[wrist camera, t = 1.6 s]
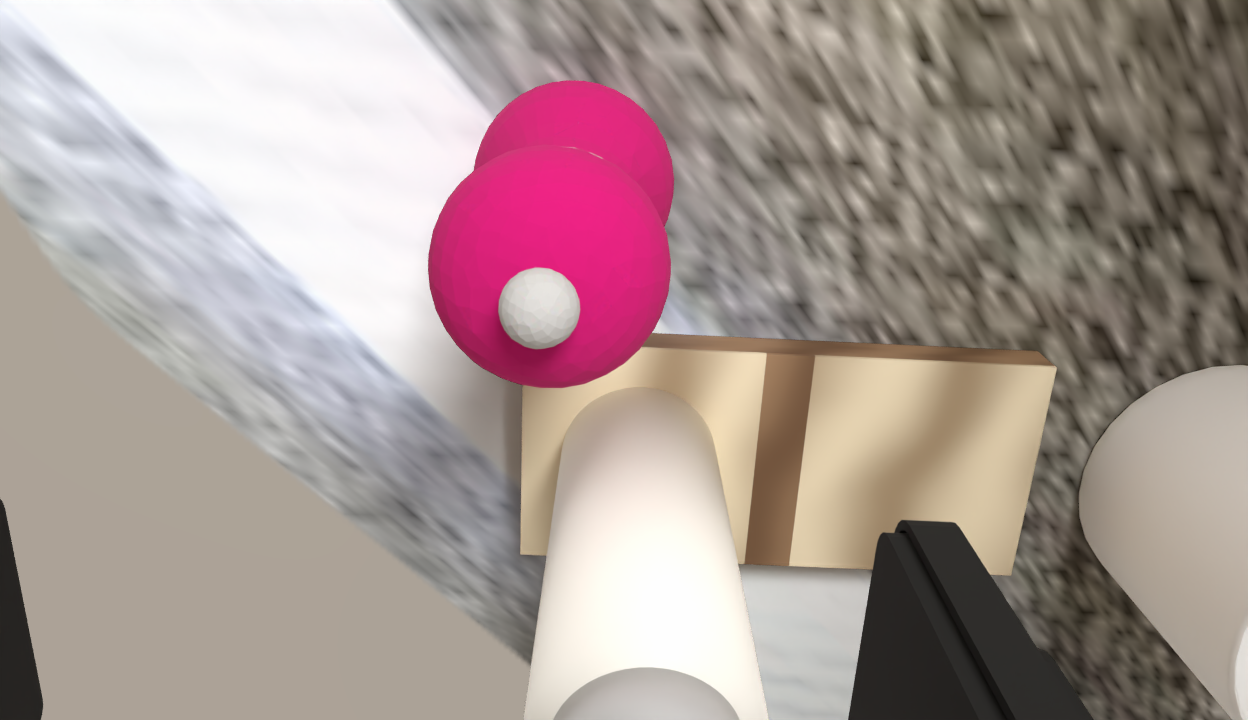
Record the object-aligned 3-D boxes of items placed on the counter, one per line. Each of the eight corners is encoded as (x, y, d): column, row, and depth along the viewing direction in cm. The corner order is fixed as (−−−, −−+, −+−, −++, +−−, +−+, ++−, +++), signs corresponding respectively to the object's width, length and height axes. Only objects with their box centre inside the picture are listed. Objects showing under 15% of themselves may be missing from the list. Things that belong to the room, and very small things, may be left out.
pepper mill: (693, 105, 38) (759, 210, 19) (636, 274, 40) (646, 513, 22) (517, 46, 37) (406, 95, 18) (469, 222, 40) (330, 423, 21)
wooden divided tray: (1037, 351, 42) (1056, 367, 40) (994, 551, 45) (1010, 575, 43) (527, 327, 41) (522, 343, 39) (524, 531, 45) (520, 554, 43)
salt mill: (722, 390, 40) (812, 762, 21) (709, 529, 42) (779, 980, 23) (563, 383, 40) (503, 749, 20) (559, 522, 42) (502, 970, 23)
